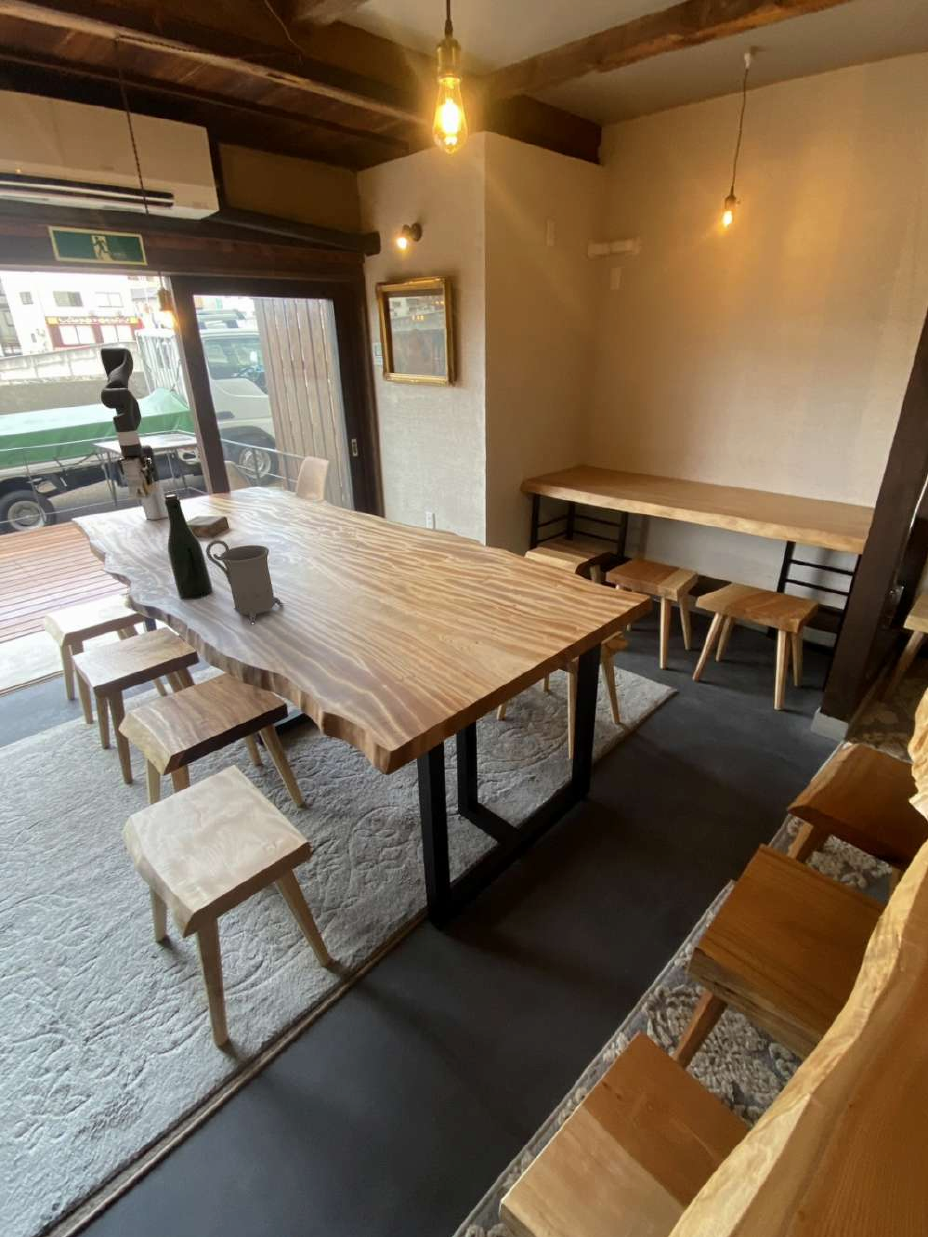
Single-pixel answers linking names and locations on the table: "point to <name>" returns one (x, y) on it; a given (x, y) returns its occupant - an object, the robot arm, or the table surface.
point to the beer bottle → (185, 554)
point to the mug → (247, 577)
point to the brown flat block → (208, 526)
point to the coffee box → (137, 478)
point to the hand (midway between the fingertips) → (141, 484)
